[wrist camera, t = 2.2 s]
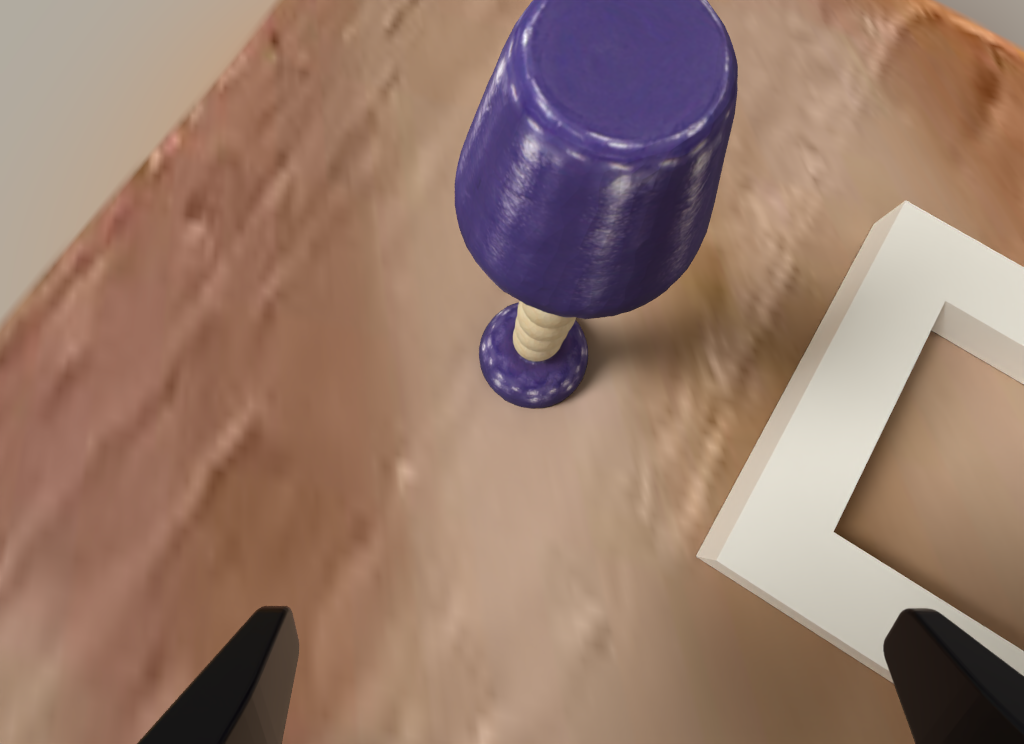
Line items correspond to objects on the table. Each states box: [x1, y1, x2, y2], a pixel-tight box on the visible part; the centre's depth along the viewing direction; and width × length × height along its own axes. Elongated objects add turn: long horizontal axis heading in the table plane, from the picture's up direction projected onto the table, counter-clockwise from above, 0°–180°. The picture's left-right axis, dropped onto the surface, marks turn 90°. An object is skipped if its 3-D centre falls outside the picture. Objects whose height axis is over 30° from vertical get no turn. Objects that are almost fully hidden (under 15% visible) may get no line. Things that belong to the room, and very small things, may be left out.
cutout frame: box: [696, 200, 1024, 683], centre depth 22 cm, size 16×16×2 cm
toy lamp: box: [455, 0, 738, 408], centre depth 16 cm, size 5×5×17 cm
